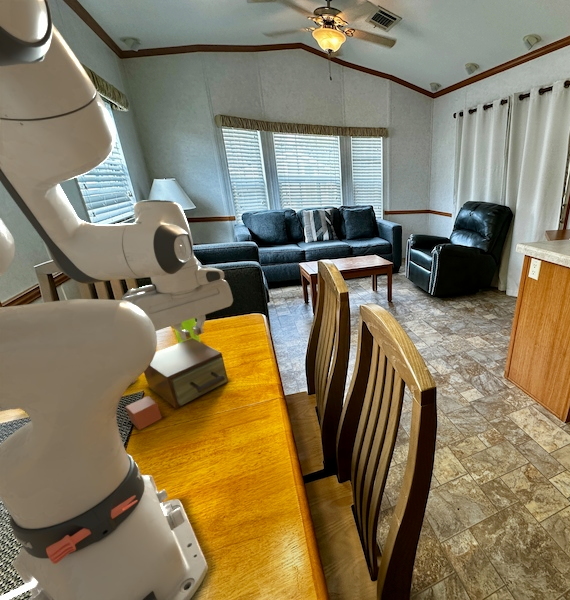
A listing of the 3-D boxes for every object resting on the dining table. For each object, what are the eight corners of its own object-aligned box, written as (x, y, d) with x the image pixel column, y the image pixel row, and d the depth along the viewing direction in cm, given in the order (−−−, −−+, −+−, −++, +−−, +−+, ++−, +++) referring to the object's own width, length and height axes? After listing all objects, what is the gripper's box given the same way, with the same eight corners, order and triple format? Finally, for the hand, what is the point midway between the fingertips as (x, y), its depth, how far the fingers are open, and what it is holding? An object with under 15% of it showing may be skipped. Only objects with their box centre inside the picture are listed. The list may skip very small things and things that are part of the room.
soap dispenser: (181, 343, 107) (164, 285, 99) (204, 341, 108) (189, 284, 100) (172, 352, 101) (154, 291, 94) (197, 350, 102) (181, 290, 95)
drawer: (238, 387, 83) (233, 364, 81) (191, 413, 74) (183, 388, 72) (201, 365, 93) (195, 344, 90) (154, 386, 84) (147, 363, 81)
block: (162, 418, 74) (156, 402, 73) (139, 430, 71) (133, 414, 69) (153, 411, 76) (148, 395, 75) (131, 422, 73) (125, 406, 71)
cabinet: (228, 381, 87) (221, 352, 84) (176, 408, 77) (166, 377, 74) (199, 364, 95) (192, 337, 91) (149, 387, 85) (139, 358, 82)
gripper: (124, 296, 60) (146, 360, 65) (230, 269, 76) (241, 323, 81) (111, 289, 63) (133, 352, 68) (215, 265, 79) (227, 317, 84)
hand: (192, 336), depth 75 cm, fingers closed
